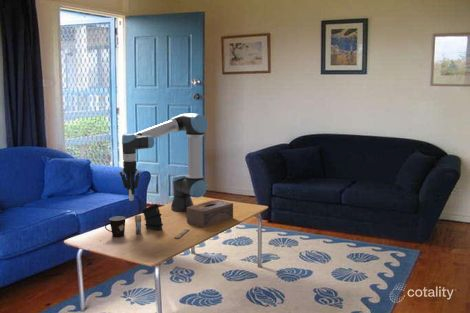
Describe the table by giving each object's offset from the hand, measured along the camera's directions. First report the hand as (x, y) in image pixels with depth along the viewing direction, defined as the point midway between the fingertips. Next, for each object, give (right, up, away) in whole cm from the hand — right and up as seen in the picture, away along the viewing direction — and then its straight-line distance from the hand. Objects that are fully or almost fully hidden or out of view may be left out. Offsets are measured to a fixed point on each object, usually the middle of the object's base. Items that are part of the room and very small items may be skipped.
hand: (131, 199), depth 281 cm
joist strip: (+31, -18, -12) cm, 38 cm away
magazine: (+13, -17, -1) cm, 21 cm away
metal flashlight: (+6, -18, -9) cm, 21 cm away
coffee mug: (-6, -19, -14) cm, 25 cm away
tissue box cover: (+46, -14, +14) cm, 50 cm away
